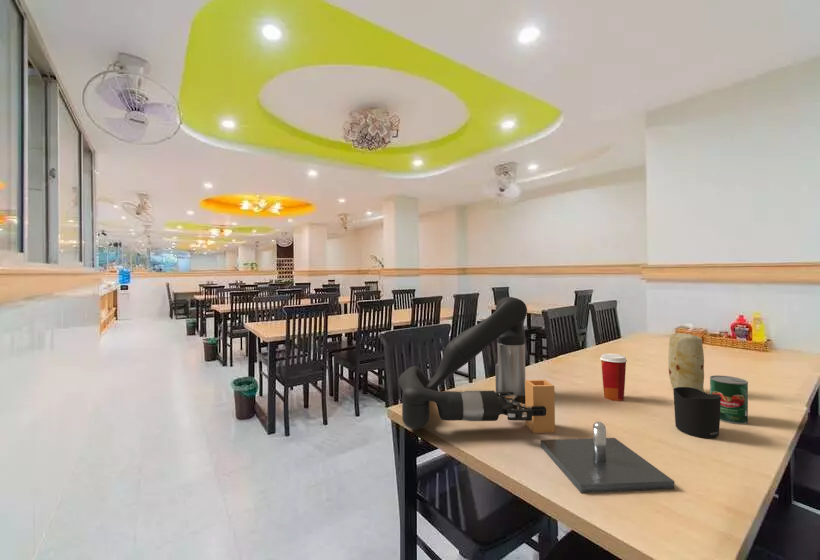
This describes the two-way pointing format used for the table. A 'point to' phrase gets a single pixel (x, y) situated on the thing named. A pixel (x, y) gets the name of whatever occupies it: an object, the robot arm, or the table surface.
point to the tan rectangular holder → (541, 396)
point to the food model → (686, 361)
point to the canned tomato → (731, 398)
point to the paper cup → (613, 376)
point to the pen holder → (697, 412)
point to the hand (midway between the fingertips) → (538, 404)
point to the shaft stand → (604, 464)
